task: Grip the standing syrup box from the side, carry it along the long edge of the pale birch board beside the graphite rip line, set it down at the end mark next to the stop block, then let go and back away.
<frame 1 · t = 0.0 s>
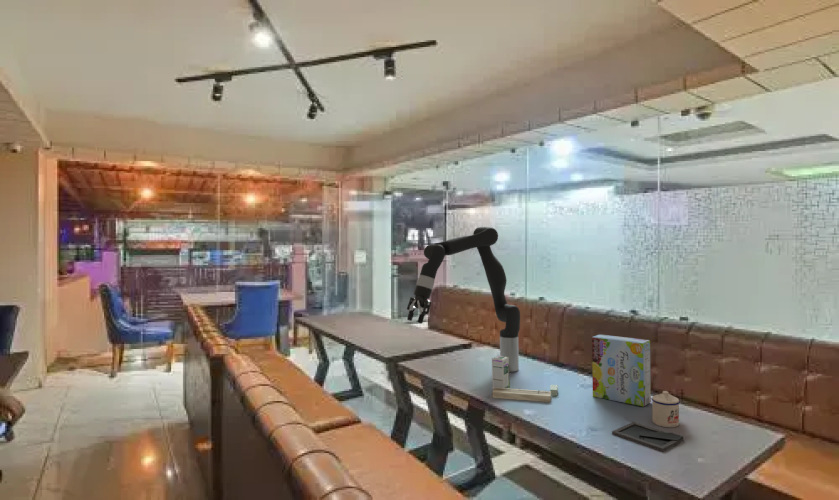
hand: (414, 321, 224), 31 cm above the table, tool tilted 20°, fingers open, 8 cm apart
syrup box: (501, 389, 226), on the table
teacup with lid: (667, 422, 184), on the table
snack box: (620, 399, 209), on the table
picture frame: (647, 439, 172), on the table
birch board: (521, 397, 214), on the table
stop block: (554, 392, 219), on the table
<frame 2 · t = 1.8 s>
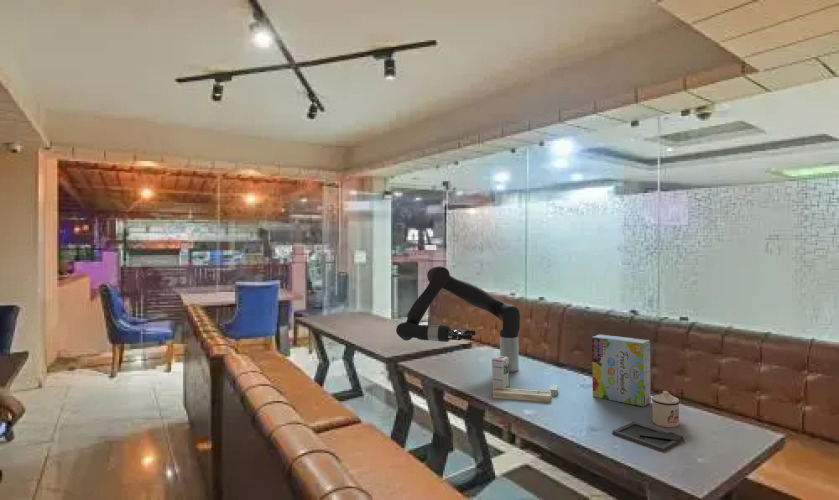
hand: (473, 334, 228), 24 cm above the table, tool horizontal, fingers open, 8 cm apart
nothing on the table moved.
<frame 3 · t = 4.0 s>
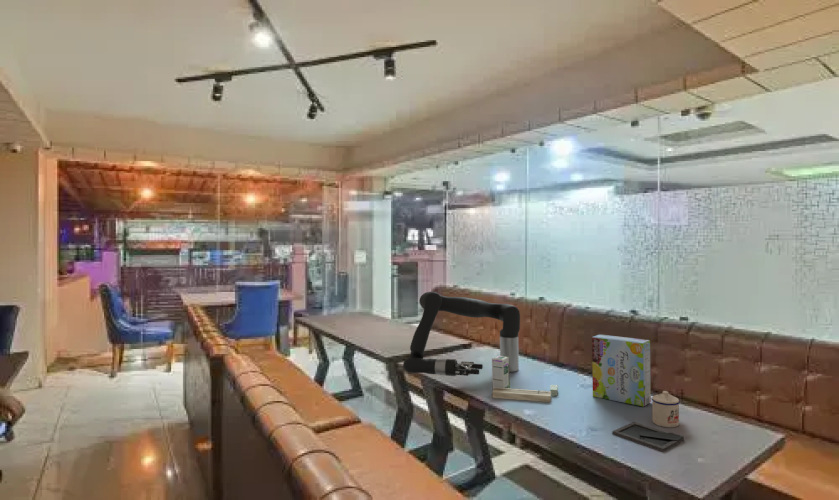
hand: (480, 369, 228), 8 cm above the table, tool horizontal, fingers open, 8 cm apart
nothing on the table moved.
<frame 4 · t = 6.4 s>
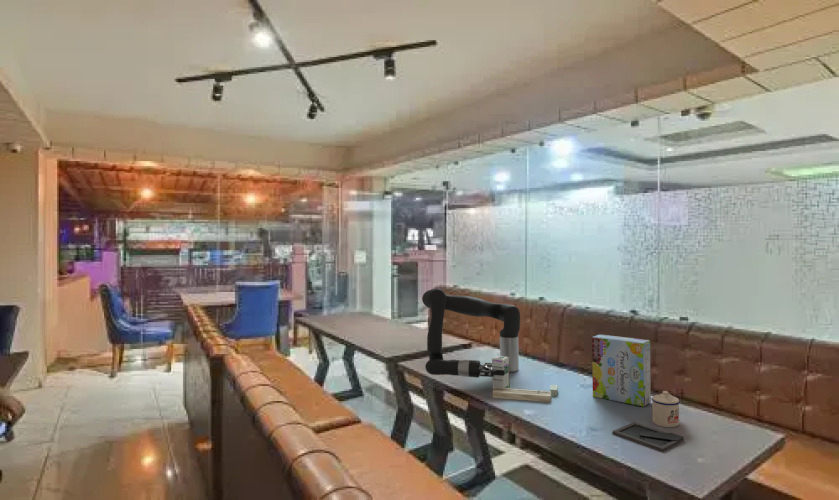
hand: (505, 370, 225), 9 cm above the table, tool horizontal, fingers closed on syrup box, 7 cm apart
syrup box: (501, 389, 226), on the table, touching gripper
everything else where it was.
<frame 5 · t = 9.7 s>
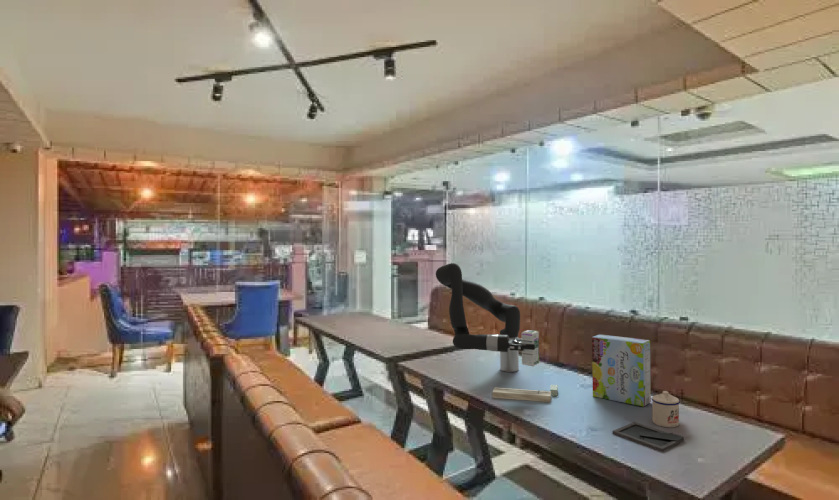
hand: (535, 345, 220), 21 cm above the table, tool horizontal, fingers closed on syrup box, 7 cm apart
syrup box: (530, 364, 221), point 12 cm above the table, touching gripper
everything else where it was.
when the fingers open (10 cm above the table, at t = 13.3 s): syrup box drops 1 cm, on the table.
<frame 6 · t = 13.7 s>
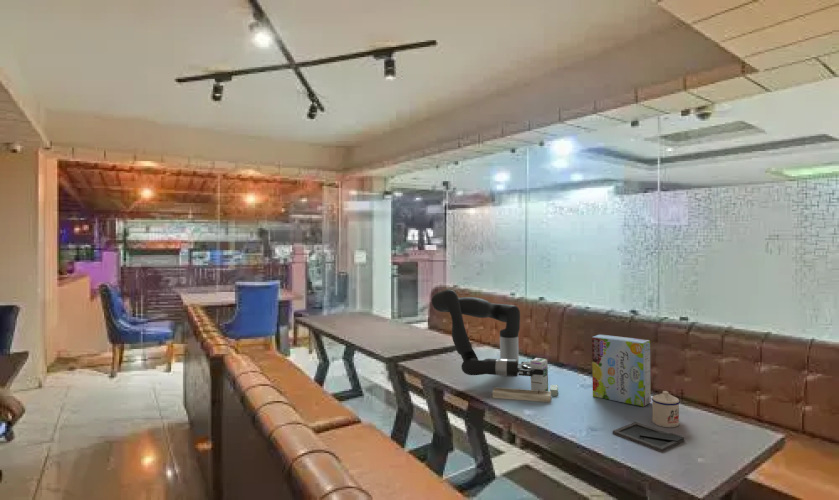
hand: (544, 369, 220), 10 cm above the table, tool horizontal, fingers open, 8 cm apart
syrup box: (539, 392, 220), on the table
everything else where it was.
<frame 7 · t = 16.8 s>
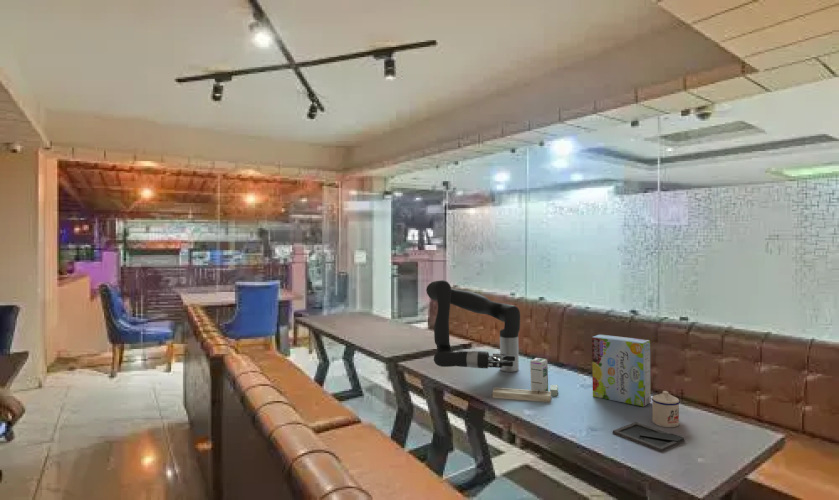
hand: (513, 361, 224), 13 cm above the table, tool horizontal, fingers open, 8 cm apart
nothing on the table moved.
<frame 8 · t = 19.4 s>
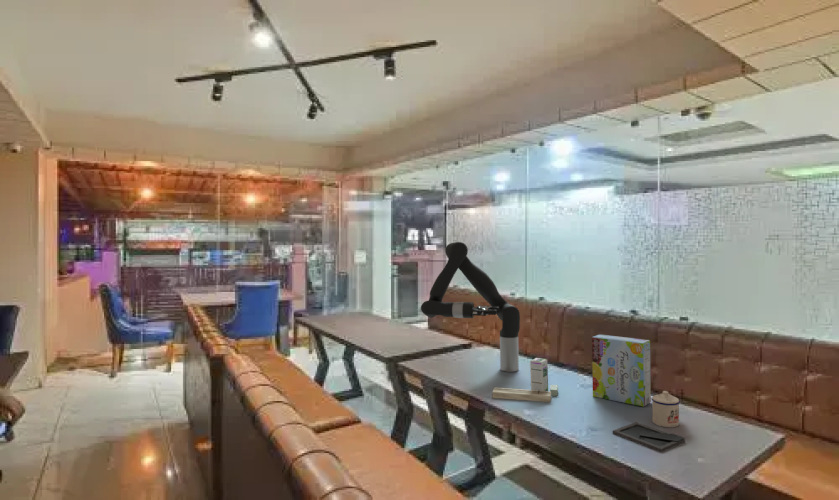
hand: (497, 310, 233), 34 cm above the table, tool horizontal, fingers open, 8 cm apart
nothing on the table moved.
at the end: syrup box 0.6 cm from the target spot, on the table; syrup box tilted 0°; the gripper is holding nothing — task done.
